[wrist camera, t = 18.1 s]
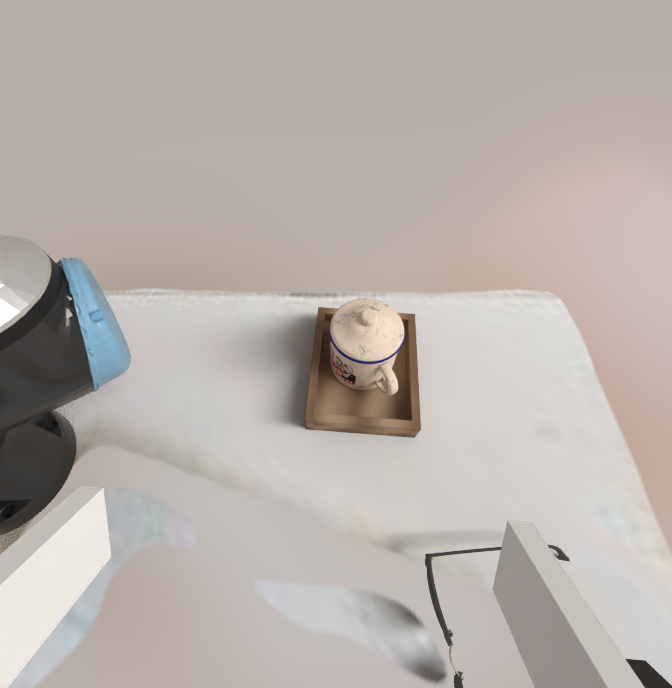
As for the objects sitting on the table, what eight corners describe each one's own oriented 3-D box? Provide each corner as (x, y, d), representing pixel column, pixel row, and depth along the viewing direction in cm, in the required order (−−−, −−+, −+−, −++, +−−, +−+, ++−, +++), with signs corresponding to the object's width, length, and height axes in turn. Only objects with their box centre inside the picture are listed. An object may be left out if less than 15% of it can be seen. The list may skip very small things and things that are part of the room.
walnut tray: (306, 429, 46) (304, 420, 43) (319, 320, 54) (318, 307, 51) (414, 437, 45) (420, 429, 42) (409, 327, 54) (414, 314, 51)
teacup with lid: (317, 349, 50) (315, 299, 40) (373, 326, 53) (384, 273, 43) (357, 422, 45) (366, 385, 35) (417, 394, 47) (441, 351, 37)
